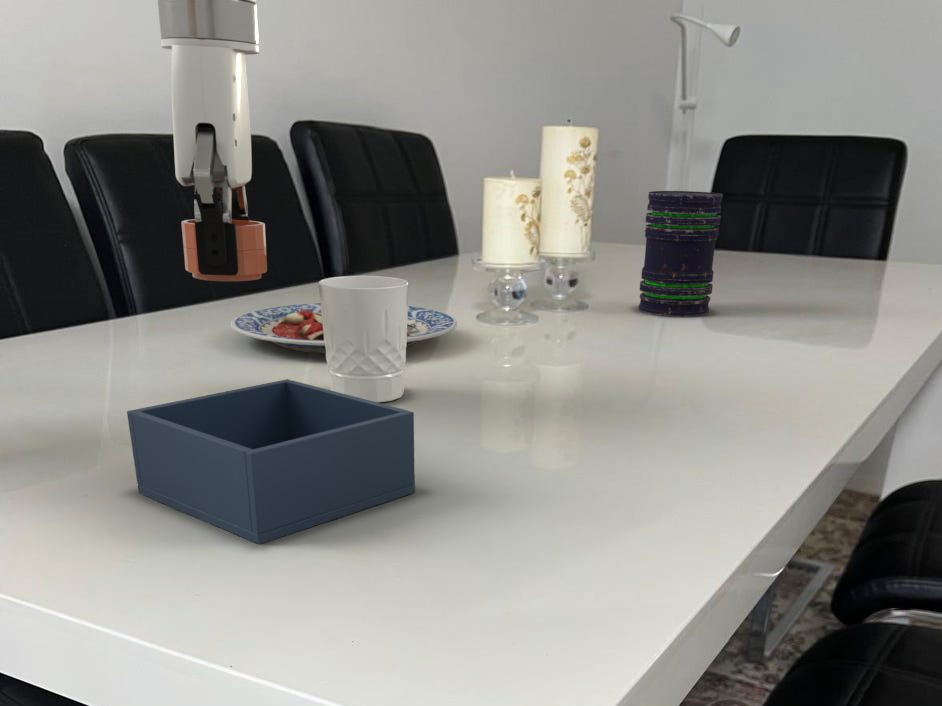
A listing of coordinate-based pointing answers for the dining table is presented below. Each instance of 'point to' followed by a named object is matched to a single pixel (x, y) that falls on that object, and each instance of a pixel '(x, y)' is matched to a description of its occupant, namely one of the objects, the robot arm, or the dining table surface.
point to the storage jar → (679, 253)
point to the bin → (273, 456)
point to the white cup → (365, 335)
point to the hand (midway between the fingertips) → (226, 267)
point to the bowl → (248, 251)
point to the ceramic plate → (305, 327)
